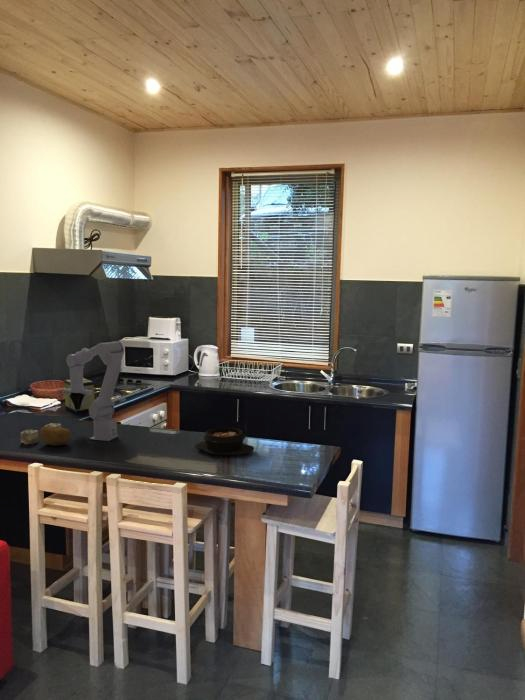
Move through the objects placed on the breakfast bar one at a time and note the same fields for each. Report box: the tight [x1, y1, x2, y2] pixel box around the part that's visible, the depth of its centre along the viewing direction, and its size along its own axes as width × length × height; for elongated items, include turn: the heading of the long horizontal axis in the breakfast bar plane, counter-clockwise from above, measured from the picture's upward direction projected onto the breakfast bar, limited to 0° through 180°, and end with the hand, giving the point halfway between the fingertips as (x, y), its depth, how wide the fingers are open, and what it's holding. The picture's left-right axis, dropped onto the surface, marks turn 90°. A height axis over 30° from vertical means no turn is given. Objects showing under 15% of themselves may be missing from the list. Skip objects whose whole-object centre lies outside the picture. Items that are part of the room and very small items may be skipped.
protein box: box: [64, 377, 95, 414], centre depth 303 cm, size 10×16×16 cm
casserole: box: [194, 426, 255, 457], centre depth 233 cm, size 25×19×8 cm
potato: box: [39, 425, 72, 447], centre depth 240 cm, size 10×14×8 cm
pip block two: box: [43, 422, 62, 428], centre depth 254 cm, size 5×5×5 cm
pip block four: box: [20, 429, 40, 445], centre depth 244 cm, size 5×5×5 cm
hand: (77, 409), depth 260 cm, fingers closed
